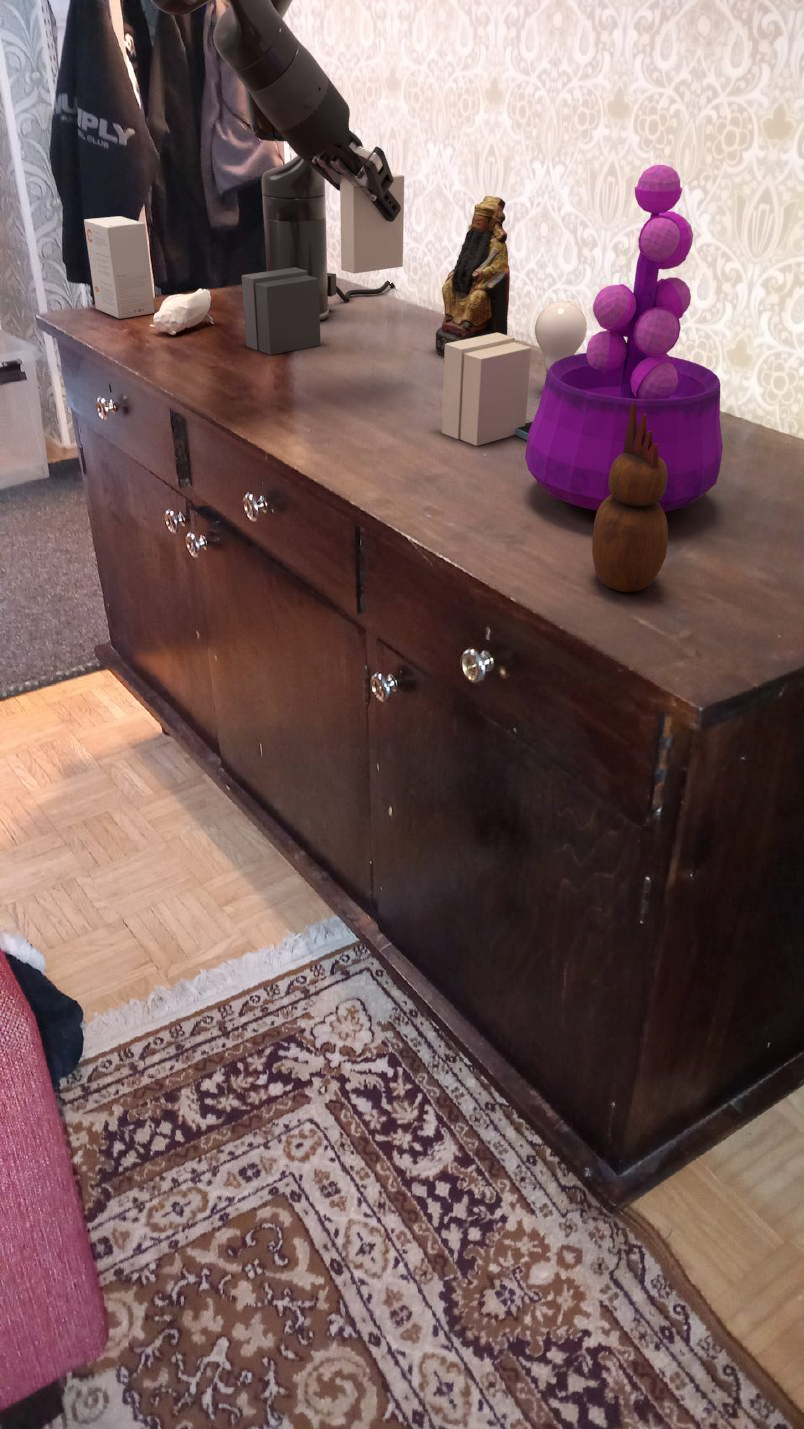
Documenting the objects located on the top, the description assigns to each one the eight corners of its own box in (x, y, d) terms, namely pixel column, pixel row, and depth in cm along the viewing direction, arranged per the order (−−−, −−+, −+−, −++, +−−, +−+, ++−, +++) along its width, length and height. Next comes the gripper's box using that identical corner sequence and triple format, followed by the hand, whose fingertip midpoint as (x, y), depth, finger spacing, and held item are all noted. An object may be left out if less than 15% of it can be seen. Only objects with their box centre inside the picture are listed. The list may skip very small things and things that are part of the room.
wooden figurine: (580, 565, 94) (600, 396, 86) (645, 564, 95) (671, 395, 86) (599, 602, 89) (622, 424, 80) (667, 600, 89) (697, 423, 81)
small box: (156, 313, 166) (146, 222, 159) (118, 319, 163) (106, 226, 155) (131, 303, 171) (120, 214, 164) (94, 309, 168) (82, 218, 160)
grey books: (245, 346, 151) (241, 275, 146) (298, 336, 156) (295, 267, 151) (269, 355, 148) (265, 282, 142) (321, 344, 152) (320, 274, 147)
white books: (441, 432, 122) (444, 343, 117) (492, 419, 127) (497, 332, 121) (475, 446, 119) (480, 355, 113) (526, 431, 123) (533, 343, 117)
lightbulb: (586, 388, 137) (596, 299, 131) (571, 402, 132) (580, 310, 126) (539, 382, 139) (546, 293, 133) (522, 395, 134) (529, 304, 128)
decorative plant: (547, 456, 117) (576, 146, 100) (720, 479, 112) (781, 158, 95) (502, 521, 102) (527, 171, 85) (699, 552, 97) (767, 186, 80)
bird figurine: (184, 329, 163) (144, 326, 155) (194, 283, 161) (153, 278, 152) (211, 339, 162) (171, 338, 153) (221, 293, 159) (181, 289, 151)
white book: (340, 269, 128) (339, 177, 122) (389, 263, 132) (390, 172, 126) (354, 273, 126) (353, 179, 121) (403, 266, 130) (404, 175, 125)
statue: (428, 350, 151) (432, 194, 140) (475, 343, 154) (483, 190, 143) (474, 372, 142) (482, 208, 131) (523, 365, 145) (535, 204, 134)
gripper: (357, 71, 109) (442, 194, 122) (280, 65, 118) (368, 180, 131) (316, 133, 109) (406, 249, 123) (242, 122, 118) (334, 231, 131)
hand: (386, 212), depth 127 cm, fingers closed on white book, 2 cm apart
